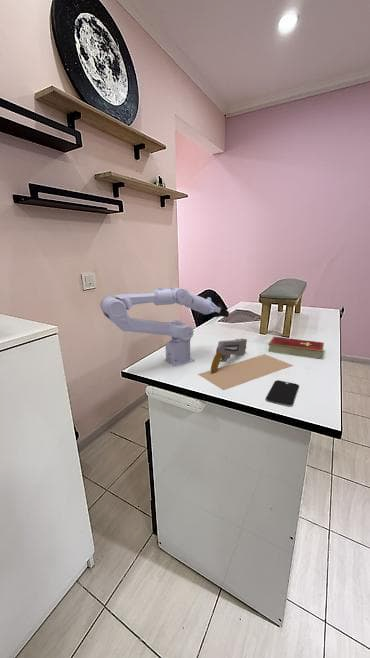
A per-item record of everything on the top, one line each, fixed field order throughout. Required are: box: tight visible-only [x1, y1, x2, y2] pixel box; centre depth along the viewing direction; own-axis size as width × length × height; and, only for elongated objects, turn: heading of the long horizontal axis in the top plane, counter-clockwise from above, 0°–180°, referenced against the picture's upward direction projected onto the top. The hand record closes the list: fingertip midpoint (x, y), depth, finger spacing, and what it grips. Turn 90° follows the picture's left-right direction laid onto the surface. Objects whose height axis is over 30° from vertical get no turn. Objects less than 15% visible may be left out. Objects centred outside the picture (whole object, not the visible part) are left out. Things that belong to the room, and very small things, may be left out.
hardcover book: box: [267, 336, 325, 360], centre depth 119 cm, size 12×21×4 cm, turn 62°
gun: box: [210, 338, 248, 373], centre depth 108 cm, size 3×25×15 cm, turn 143°
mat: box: [197, 353, 294, 391], centre depth 102 cm, size 34×14×1 cm, turn 122°
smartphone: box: [265, 379, 300, 408], centre depth 85 cm, size 8×1×15 cm
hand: (222, 313), depth 117 cm, fingers open, 7 cm apart
